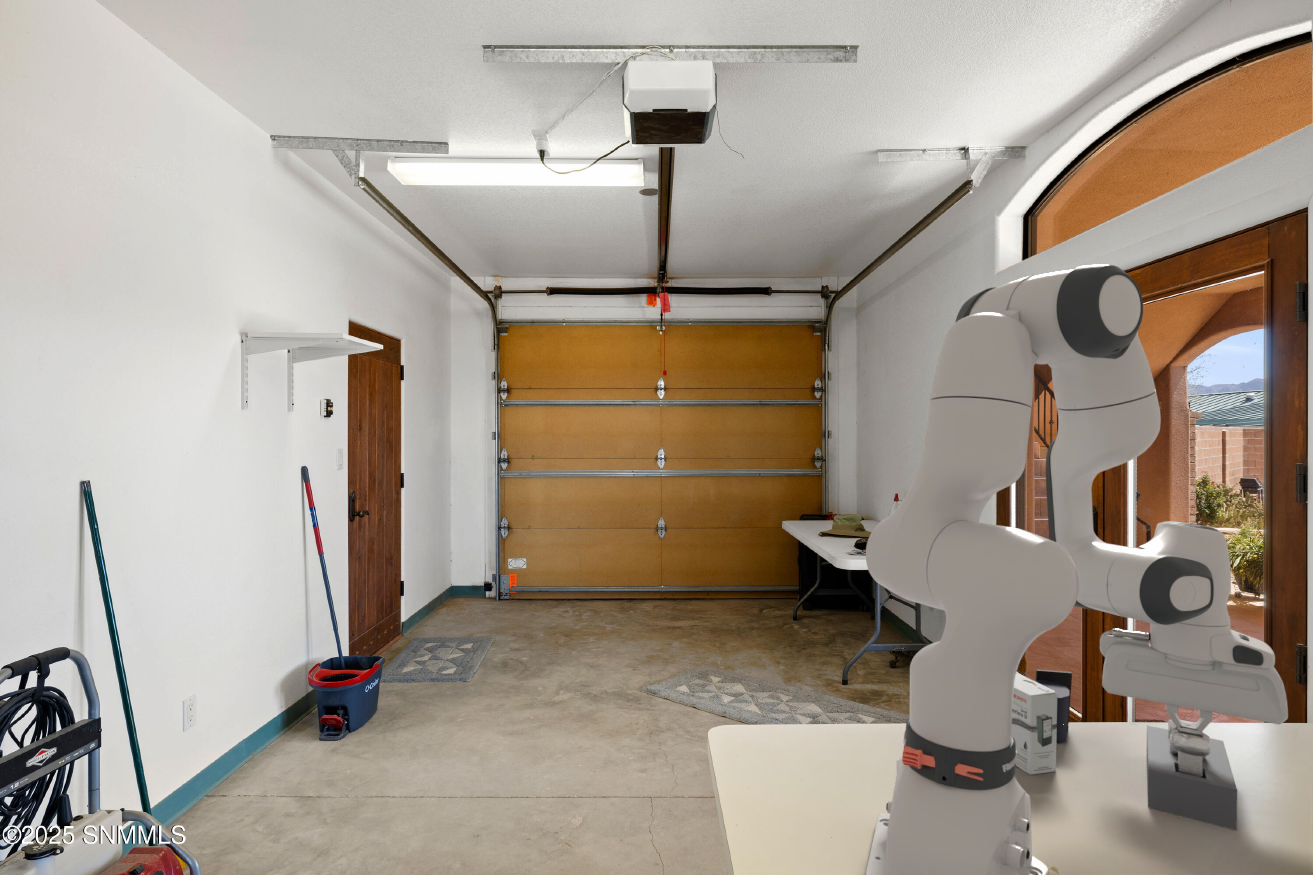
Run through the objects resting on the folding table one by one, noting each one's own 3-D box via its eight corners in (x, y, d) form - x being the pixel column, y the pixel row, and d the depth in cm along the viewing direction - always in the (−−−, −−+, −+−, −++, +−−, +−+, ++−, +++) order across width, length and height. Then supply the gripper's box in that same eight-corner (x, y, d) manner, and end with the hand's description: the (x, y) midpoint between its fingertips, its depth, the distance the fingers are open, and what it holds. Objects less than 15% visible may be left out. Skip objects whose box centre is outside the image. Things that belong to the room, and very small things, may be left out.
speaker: (1029, 720, 117) (1032, 662, 116) (1068, 730, 114) (1072, 671, 113) (1024, 741, 111) (1028, 680, 110) (1065, 752, 108) (1070, 689, 107)
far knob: (1203, 768, 97) (1204, 732, 97) (1168, 760, 99) (1168, 725, 99) (1201, 757, 100) (1201, 722, 100) (1167, 750, 102) (1167, 716, 102)
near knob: (1210, 782, 88) (1211, 742, 88) (1171, 773, 90) (1172, 734, 90) (1208, 769, 91) (1208, 731, 91) (1170, 761, 93) (1170, 724, 93)
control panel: (1236, 829, 85) (1237, 790, 85) (1148, 806, 91) (1148, 769, 91) (1222, 775, 99) (1223, 740, 99) (1146, 757, 105) (1146, 725, 105)
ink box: (987, 749, 107) (988, 673, 107) (1013, 745, 108) (1014, 671, 108) (1030, 775, 99) (1030, 694, 99) (1058, 771, 100) (1059, 691, 100)
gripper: (1098, 631, 98) (1098, 727, 98) (1291, 658, 87) (1290, 767, 87) (1100, 621, 104) (1100, 712, 104) (1282, 645, 92) (1281, 748, 92)
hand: (1188, 737), depth 95 cm, fingers closed, pressing on middle knob
